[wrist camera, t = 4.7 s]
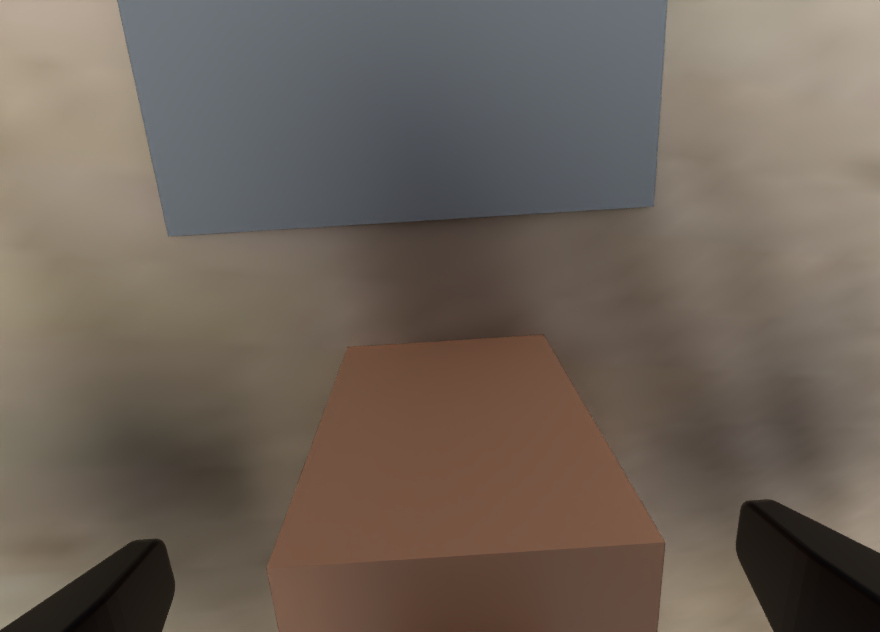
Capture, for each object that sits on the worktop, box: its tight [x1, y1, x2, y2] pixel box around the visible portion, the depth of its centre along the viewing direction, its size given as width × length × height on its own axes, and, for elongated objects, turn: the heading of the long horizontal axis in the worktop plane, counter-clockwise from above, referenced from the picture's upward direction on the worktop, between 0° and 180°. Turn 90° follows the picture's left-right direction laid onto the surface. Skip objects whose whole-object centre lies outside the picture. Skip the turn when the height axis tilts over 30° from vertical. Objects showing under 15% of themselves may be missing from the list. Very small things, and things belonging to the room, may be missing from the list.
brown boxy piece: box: [267, 335, 665, 632], centre depth 8 cm, size 4×4×7 cm
